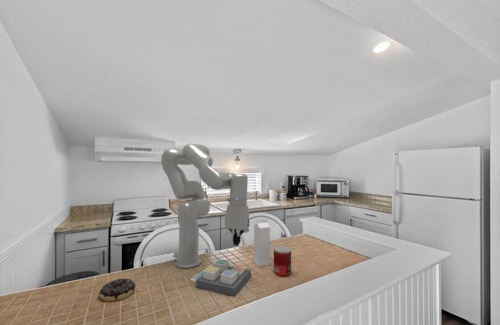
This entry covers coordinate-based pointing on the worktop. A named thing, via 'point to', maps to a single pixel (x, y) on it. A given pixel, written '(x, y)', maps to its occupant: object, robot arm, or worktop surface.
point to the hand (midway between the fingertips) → (236, 244)
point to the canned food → (282, 261)
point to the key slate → (229, 277)
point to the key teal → (221, 265)
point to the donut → (117, 290)
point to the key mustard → (211, 273)
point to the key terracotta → (239, 271)
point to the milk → (262, 243)
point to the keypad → (224, 288)
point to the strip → (197, 276)
